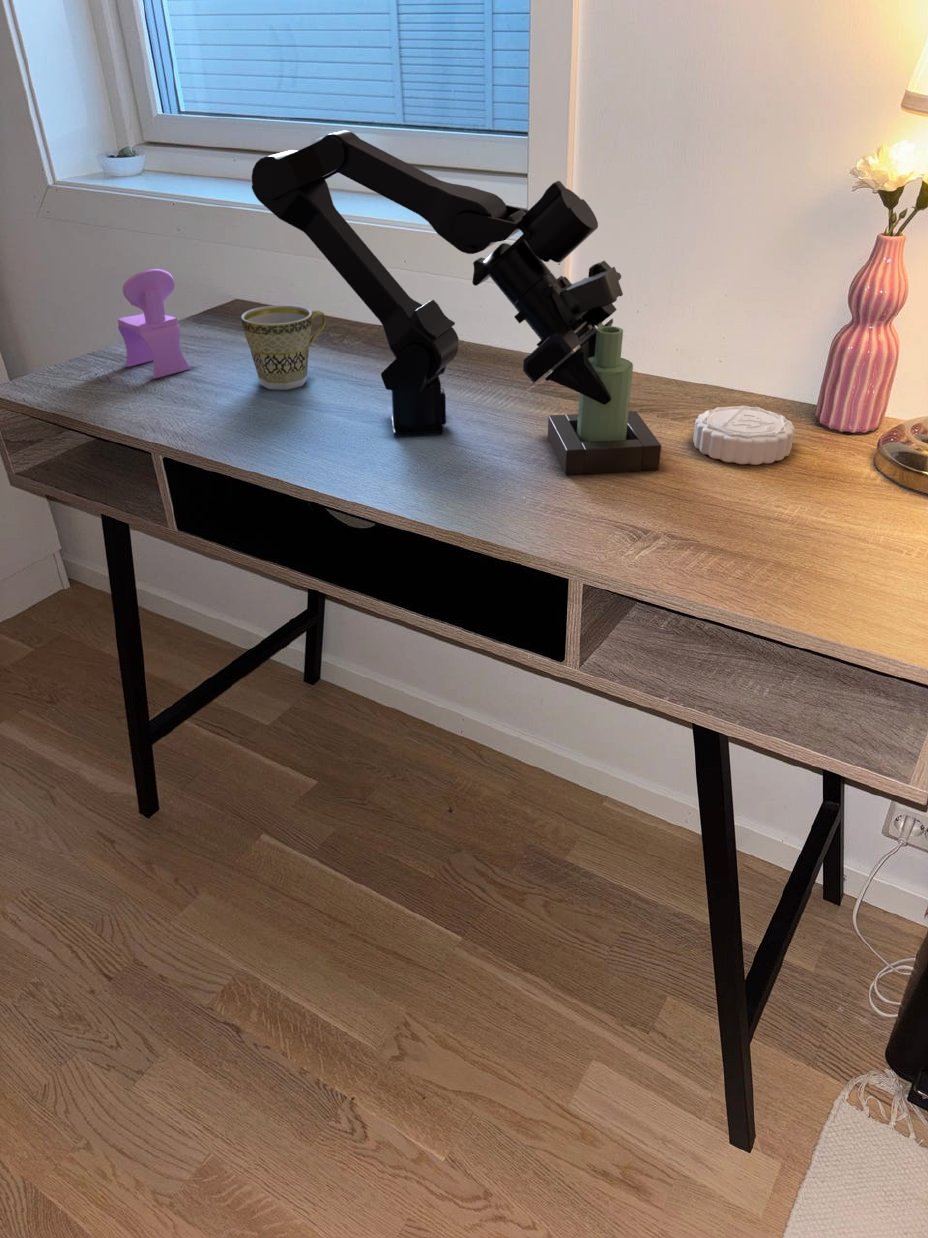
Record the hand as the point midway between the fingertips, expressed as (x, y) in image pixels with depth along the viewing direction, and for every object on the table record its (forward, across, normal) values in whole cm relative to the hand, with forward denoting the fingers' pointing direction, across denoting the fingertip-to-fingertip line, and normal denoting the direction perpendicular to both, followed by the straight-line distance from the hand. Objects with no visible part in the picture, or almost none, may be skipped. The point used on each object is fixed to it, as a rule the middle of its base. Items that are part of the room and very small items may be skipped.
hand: (615, 393), depth 116 cm
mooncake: (+16, +9, -4) cm, 19 cm away
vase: (+4, 0, +6) cm, 7 cm away
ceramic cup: (-30, +9, +42) cm, 53 cm away
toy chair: (-46, +6, +59) cm, 75 cm away
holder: (+5, 0, +6) cm, 8 cm away
